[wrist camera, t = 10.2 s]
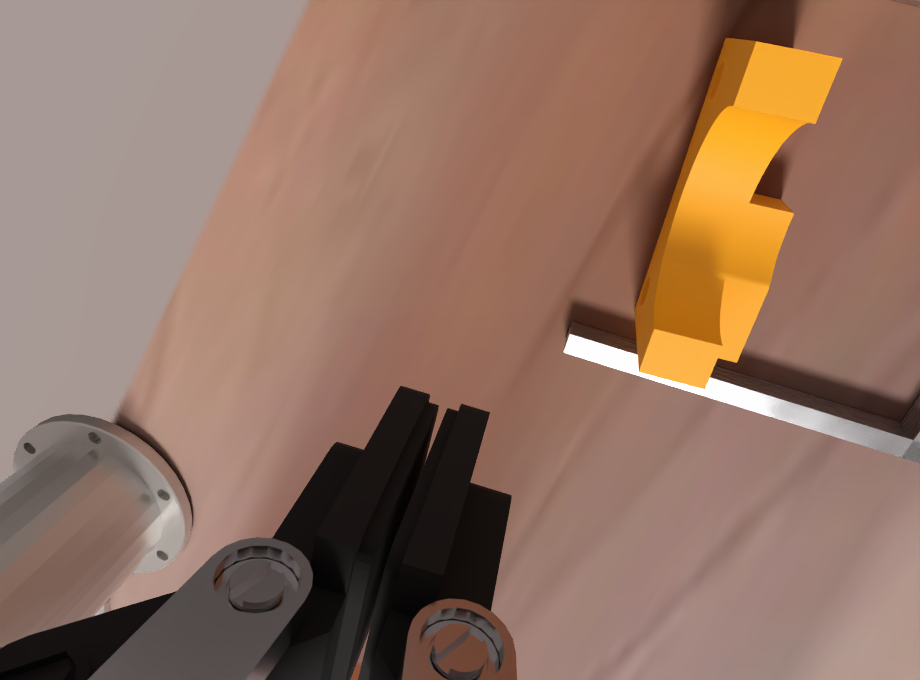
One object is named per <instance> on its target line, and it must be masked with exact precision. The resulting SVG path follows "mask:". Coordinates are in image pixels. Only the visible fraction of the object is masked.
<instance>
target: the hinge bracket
mask: <svg viewBox="0 0 920 680" xmlns="http://www.w3.org/2000/svg"><path fill="white" fill-rule="evenodd" d="M894 1H898V2H902V3H906V4H910V5H914V6H918V7H920V0H894ZM564 353H568V354H571V355H574V356H577V357H580V358H584V359H587V360H590V361H593V362H596V363H600V364H603V365H606V366H609V367H613V368H616V369H619V370H622V371H625V372H629V373H632V374H635V375H638V376H641V377H645V378H648V379H651V380H654V381H657V382H661V383H664V384H667V385H670V386H674V387H677V388H680V389H683V390H686V391H690V392H693V393H696V394H699V395H702V396H706V397H709V398H712V399H715V400H719V401H722V402H725V403H728V404H731V405H735V406H738V407H741V408H744V409H747V410H751V411H754V412H757V413H760V414H763V415H767V416H770V417H773V418H776V419H780V420H783V421H786V422H789V423H792V424H796V425H799V426H802V427H805V428H808V429H812V430H815V431H818V432H821V433H825V434H828V435H831V436H834V437H837V438H841V439H844V440H847V441H850V442H853V443H857V444H860V445H863V446H866V447H870V448H873V449H876V450H879V451H882V452H886V453H889V454H892V455H895V456H898V457H902V458H905V459H908V460H911V461H914V462H918V463H920V395H919V396H918V398H917V399H916V401H915V402H914V404H913V405H912V407H911V408H910V410H909V411H908V413H907V414H906V416H905V417H904V419H903V420H902V421H901V422H898V421H895V420H891V419H888V418H885V417H881V416H878V415H875V414H872V413H868V412H865V411H862V410H859V409H855V408H852V407H849V406H846V405H842V404H839V403H836V402H833V401H829V400H826V399H823V398H820V397H816V396H813V395H810V394H807V393H803V392H800V391H797V390H793V389H790V388H787V387H784V386H780V385H777V384H774V383H771V382H767V381H764V380H761V379H758V378H754V377H751V376H748V375H745V374H741V373H738V372H735V371H732V370H728V369H725V368H722V367H719V366H714V368H713V371H712V373H711V376H710V378H709V381H708V383H707V385H706V388H705V389H701V388H698V387H694V386H690V385H686V384H682V383H678V382H674V381H670V380H667V379H663V378H659V377H655V376H651V375H647V374H643V373H639V370H638V355H637V341H634V340H631V339H627V338H624V337H621V336H618V335H614V334H611V333H608V332H605V331H601V330H598V329H595V328H591V327H588V326H585V325H582V324H578V323H575V322H572V323H571V325H570V328H569V331H568V334H567V337H566V340H565V347H564Z"/></svg>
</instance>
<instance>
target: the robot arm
mask: <svg viewBox="0 0 920 680" xmlns="http://www.w3.org/2000/svg"><path fill="white" fill-rule="evenodd" d="M429 398H430V394H427V393H423V392H420V391H417V390H413V389H410V388H407V387H403V386H400V388H399V389H398V391H397V393H396V394H395V396H394V398H393V400H392V401H391V403H390V405H389V407H388V408H387V410H386V412H385V414H384V415H383V417H382V419H381V421H380V423H379V424H378V426H377V428H376V430H375V431H374V433H373V435H372V437H371V438H370V440H369V442H368V444H367V445H366V447H365V449H364V450H362V449H359V448H356V447H352V446H349V445H346V444H343V443H339V442H336V443H335V444H334V445H333V446H332V447H331V449H330V450H329V452H328V453H327V455H326V456H325V458H324V459H323V461H322V463H321V464H320V466H319V467H318V469H317V470H316V472H315V473H314V475H313V476H312V478H311V479H310V481H309V483H308V484H307V486H306V487H305V489H304V490H303V492H302V493H301V495H300V496H299V498H298V499H297V501H296V502H295V504H294V506H293V507H292V509H291V510H290V512H289V513H288V515H287V516H286V518H285V519H284V521H283V522H282V524H281V526H280V527H279V529H278V530H277V532H276V533H275V535H274V536H273V538H259V537H256V538H250V539H244V540H239V541H237V542H234V543H232V544H229V545H227V546H225V547H224V548H222V549H221V550H220V551H218V552H217V553H216V554H214V555H213V556H212V557H211V558H210V559H209V560H208V561H207V562H206V563H205V564H204V565H203V566H202V567H201V568H200V569H199V570H198V571H197V572H196V573H195V574H194V575H193V576H192V577H191V578H190V579H189V580H188V581H187V582H186V583H185V584H184V585H183V586H182V587H181V588H180V589H179V590H178V591H176V592H173V593H169V594H166V595H163V596H159V597H156V598H153V599H149V600H146V601H143V602H139V603H136V604H132V605H129V606H126V607H122V608H119V609H116V610H112V611H110V610H111V596H112V595H113V594H114V593H115V592H116V591H117V590H118V588H119V587H120V586H121V585H122V584H123V583H124V582H125V580H126V579H127V578H128V577H129V576H130V575H131V574H147V573H151V572H155V571H158V570H161V569H162V568H164V567H166V566H168V565H169V564H171V563H172V561H173V560H174V559H175V558H176V557H177V556H178V555H179V554H180V553H181V551H182V550H183V548H184V547H185V546H186V544H187V543H188V540H189V537H190V534H191V531H192V514H191V508H190V503H189V501H188V498H187V495H186V493H185V490H184V488H183V486H182V484H181V483H180V481H179V479H178V477H177V476H176V474H175V473H174V471H173V470H172V469H171V468H170V466H169V465H168V464H167V463H166V461H165V460H164V459H163V458H162V457H161V456H160V455H159V454H158V453H157V452H156V451H155V450H154V449H153V448H152V447H151V446H149V445H148V444H147V443H145V442H144V441H143V440H141V439H140V438H139V437H137V436H136V435H134V434H133V433H131V432H129V431H127V430H125V429H124V428H122V427H120V426H118V425H116V424H113V423H110V422H108V421H105V420H102V419H99V418H95V417H90V416H85V415H71V414H67V415H61V416H55V417H52V418H50V419H48V420H45V421H43V422H41V423H40V424H38V425H37V426H36V427H35V428H33V429H31V430H30V431H28V432H27V433H26V434H25V435H24V436H23V437H22V439H21V440H20V441H19V443H18V446H17V448H16V451H15V453H14V462H13V469H14V473H13V474H12V475H11V476H9V477H8V478H7V479H5V480H4V481H3V482H1V483H0V680H350V679H351V676H352V674H353V671H354V668H355V666H356V663H357V661H358V658H359V656H360V653H361V650H362V648H363V645H364V643H365V640H366V637H367V635H368V632H369V630H370V632H369V636H368V640H367V644H366V649H365V653H364V657H363V661H362V666H361V670H360V674H359V678H358V680H517V670H516V652H515V648H514V643H513V639H512V637H511V635H510V633H509V631H508V630H507V628H506V626H505V625H504V624H503V622H502V621H501V620H500V619H499V618H498V617H497V616H496V615H495V614H494V613H492V612H491V607H492V601H493V596H494V590H495V585H496V580H497V574H498V569H499V563H500V558H501V553H502V547H503V542H504V536H505V531H506V526H507V520H508V515H509V509H510V504H511V495H509V494H505V493H502V492H499V491H496V490H492V489H489V488H486V487H483V486H479V485H476V484H473V483H470V481H471V477H472V474H473V470H474V467H475V463H476V460H477V456H478V453H479V449H480V446H481V442H482V439H483V435H484V432H485V428H486V425H487V421H488V418H489V414H490V412H487V411H484V410H480V409H477V408H474V407H470V406H467V405H464V404H461V406H460V408H459V411H456V410H452V409H449V408H447V410H446V413H445V415H444V418H443V420H442V423H441V425H440V428H439V430H438V433H437V435H436V438H435V440H434V443H433V445H432V448H431V450H430V452H429V455H428V457H427V460H426V456H427V452H428V448H429V444H430V440H431V436H432V432H433V428H434V424H435V420H436V416H437V412H438V407H439V405H436V404H432V403H429ZM425 460H426V462H425ZM424 464H425V465H424Z"/></svg>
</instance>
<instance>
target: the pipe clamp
mask: <svg viewBox="0 0 920 680" xmlns="http://www.w3.org/2000/svg"><path fill="white" fill-rule="evenodd" d="M842 59H843V58H838V57H833V56H828V55H823V54H818V53H812V52H807V51H802V50H797V49H792V48H787V47H782V46H777V45H772V44H767V43H762V42H757V41H750V40H742V39H734V38H725V41H724V44H723V47H722V50H721V53H720V56H719V59H718V62H717V65H716V68H715V71H714V74H713V77H712V80H711V83H710V86H709V89H708V92H707V95H706V98H705V101H704V104H703V107H702V110H701V113H700V116H699V119H698V122H697V125H696V128H695V131H694V134H693V137H692V140H691V143H690V146H689V149H688V152H687V155H686V158H685V161H684V164H683V167H682V170H681V173H680V176H679V179H678V182H677V185H676V188H675V191H674V194H673V197H672V200H671V203H670V206H669V209H668V212H667V215H666V217H665V220H664V223H663V226H662V229H661V232H660V235H659V238H658V241H657V244H656V247H655V250H654V253H653V256H652V259H651V262H650V265H649V268H648V271H647V274H646V277H645V280H644V283H643V286H642V289H641V292H640V295H639V298H638V301H637V304H636V307H635V310H634V311H635V325H636V340H637V355H638V370H639V373H643V374H647V375H651V376H655V377H659V378H663V379H667V380H670V381H674V382H678V383H682V384H686V385H690V386H694V387H698V388H701V389H705V388H706V385H707V383H708V381H709V378H710V376H711V373H712V371H713V368H714V366H715V364H716V361H717V359H718V358H720V359H723V360H727V361H731V362H735V363H737V361H738V359H739V357H740V354H741V352H742V350H743V347H744V345H745V343H746V340H747V338H748V336H749V334H750V331H751V329H752V327H753V324H754V322H755V320H756V317H757V315H758V313H759V310H760V308H761V306H762V304H763V301H764V299H765V297H766V294H767V292H768V290H769V287H770V282H771V278H772V274H773V270H774V266H775V263H776V259H777V256H778V253H779V250H780V247H781V244H782V241H783V239H784V236H785V234H786V231H787V229H788V226H789V224H790V222H791V219H792V217H793V215H794V212H793V211H792V210H791V209H790V208H789V207H788V206H787V205H786V204H785V203H784V202H783V201H782V200H781V199H776V198H772V197H768V196H763V195H759V194H754V191H755V189H756V187H757V185H758V183H759V181H760V179H761V177H762V175H763V173H764V172H765V170H766V168H767V166H768V165H769V163H770V161H771V160H772V158H773V156H774V155H775V153H776V152H777V150H778V149H779V148H780V146H781V145H782V144H783V142H784V141H785V140H786V139H787V138H788V137H789V136H790V135H791V133H793V132H794V131H795V130H796V129H797V128H799V127H800V126H802V125H804V124H806V123H813V124H816V121H817V119H818V116H819V114H820V112H821V109H822V107H823V104H824V102H825V99H826V97H827V95H828V92H829V90H830V87H831V85H832V83H833V80H834V78H835V75H836V73H837V71H838V68H839V66H840V63H841V61H842Z"/></svg>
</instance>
